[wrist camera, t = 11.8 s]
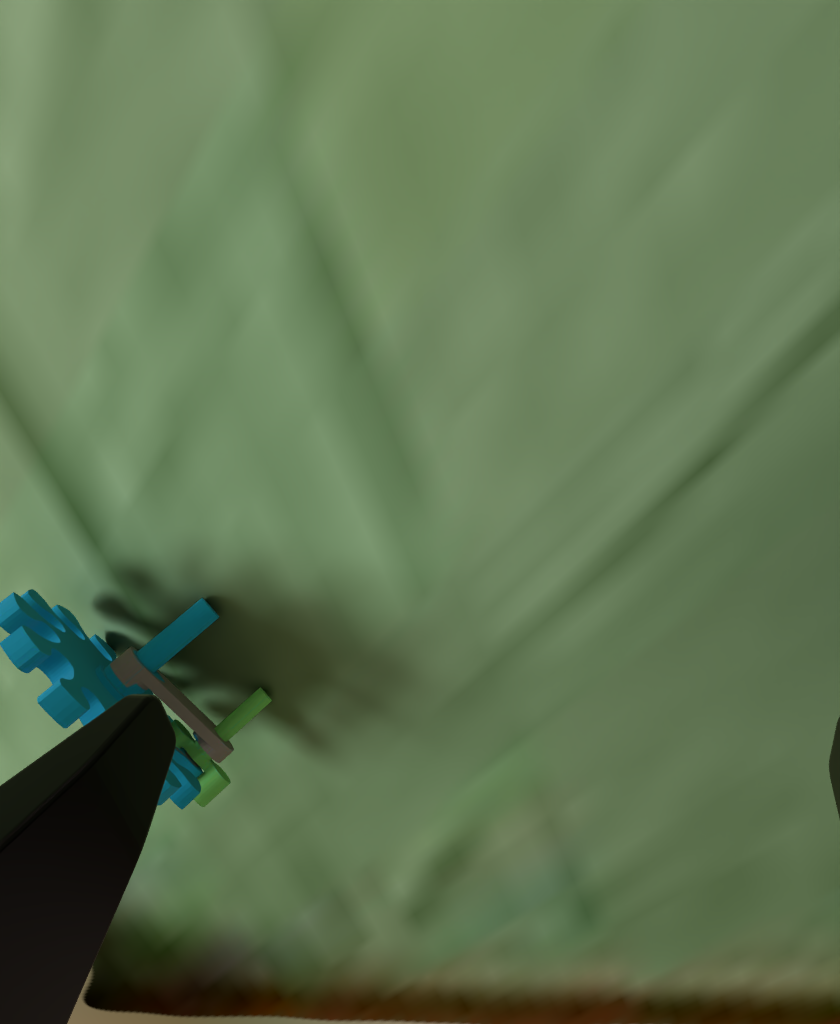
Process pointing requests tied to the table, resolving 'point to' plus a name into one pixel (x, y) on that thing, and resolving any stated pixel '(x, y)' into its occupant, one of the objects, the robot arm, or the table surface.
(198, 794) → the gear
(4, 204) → the table surface
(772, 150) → the table surface
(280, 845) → the table surface
